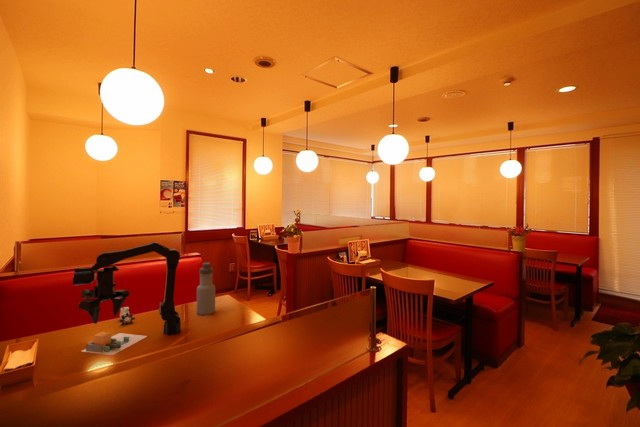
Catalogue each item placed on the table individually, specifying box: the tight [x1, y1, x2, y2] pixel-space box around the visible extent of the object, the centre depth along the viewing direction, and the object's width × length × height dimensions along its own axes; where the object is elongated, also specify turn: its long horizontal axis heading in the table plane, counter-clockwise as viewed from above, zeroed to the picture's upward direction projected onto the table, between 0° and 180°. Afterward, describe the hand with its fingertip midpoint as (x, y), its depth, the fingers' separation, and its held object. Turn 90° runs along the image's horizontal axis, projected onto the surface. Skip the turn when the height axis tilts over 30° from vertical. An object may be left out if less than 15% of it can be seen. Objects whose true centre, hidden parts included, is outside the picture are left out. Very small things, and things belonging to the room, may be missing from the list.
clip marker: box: [115, 337, 129, 345], centre depth 125 cm, size 2×5×2 cm, turn 168°
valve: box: [118, 306, 136, 326], centre depth 150 cm, size 7×7×12 cm
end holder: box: [85, 338, 116, 352], centre depth 121 cm, size 7×7×2 cm
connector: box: [93, 331, 121, 350], centre depth 121 cm, size 11×4×6 cm, turn 78°
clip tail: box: [104, 342, 119, 352], centre depth 120 cm, size 2×5×2 cm, turn 168°
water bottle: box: [196, 262, 216, 316], centre depth 166 cm, size 10×10×28 cm
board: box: [80, 332, 148, 356], centre depth 125 cm, size 15×18×1 cm
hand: (105, 319), depth 123 cm, fingers open, 9 cm apart
